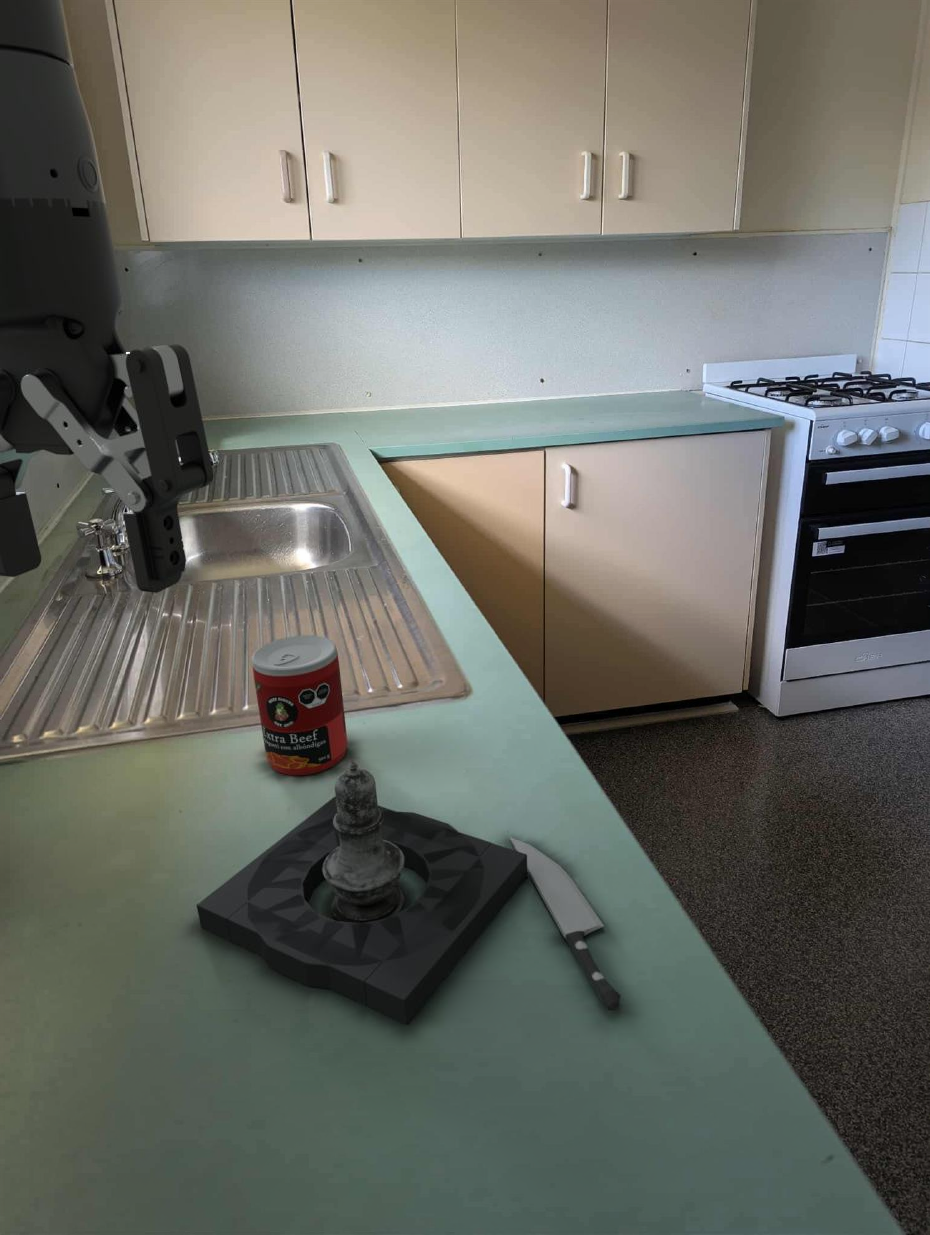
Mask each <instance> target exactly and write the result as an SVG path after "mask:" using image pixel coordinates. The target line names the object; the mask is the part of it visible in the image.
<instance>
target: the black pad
mask: <svg viewBox="0 0 930 1235" xmlns="http://www.w3.org/2000/svg"><path fill="white" fill-rule="evenodd" d="M378 807H379V808H380V809H381V810H382V811H383V813H384V820H383V822H382V824H381V833H382V840H386V841H389V842H391V843H393V844H394V845H396V846H397V847H398V848H399V849H400V850H401V851H402V853H403V855H404V867H405V868H408V869H411V870H413V871H415V872H416V874H417V875H419V876H420V877H421V878H422V879H423V880H424V881H426V886H425V889H424V891H423V893H421V894H420V896H418V898H417V899H416V900H415V901H414V902H413V903H412V904H411V905H410V906H409V907H407V908H404V909H402V910H401V911H400V912H399V913H397V914H395V915H393V916H391V917H389V918H385V919H380V920H375V921H370V922H365V923H353V922H340V921H338V920H336V919H332V918H330V917H328V916H325V915H323V914H322V913H321V914H320V913H319V912H316V910H315V909H314V908H313V907H312V906H311V905H310V903H309V900H310V897H311V896H312V893H313V891H314V889H315V888H316V887H317V886H319V885H320V884H321V883H322V882H323V881H324V880H326V879H325V877H324V874H323V870H322V869H323V863H324V861H325V859H326V857H327V856H328V855H329V854H330V853H331V852H332V851H333V850H334V849H336V848H337V847H339V846H340V838H339V831H338V830H337V829H336V828H335V827H334V824H333V820H334V817H335V815H336V814H337V813H338V812H337V804H336V795H334V796H333V797H332V798H331V799H330V800H328V801H327V802H326V803H324V804H323V805H322V806H321V807H320V808H318V809H317V810H316V811H315V812H313V813H312V814H310V816H308V817H307V818H306V819H304V820H303V821H301V823H299V824H297V825H296V826H295V827H294V828H293V829H291V830H290V831H289V832H287V833H286V834H285V835H284V836H282V837H281V838H280V839H279V840H277V841H276V842H275V843H274V844H273V845H271V846H270V847H268V848H267V849H266V850H264V851H263V852H262V853H261V854H259V855H258V856H257V857H256V858H255V859H253V860H252V861H251V862H249V863H248V864H247V865H245V867H243V868H242V869H240V870H239V871H237V873H235V874H233V876H232V877H229V879H228V880H226V881H225V882H224V883H223V884H221V885H220V886H219V887H218V888H216V889H215V890H213V891H212V892H211V893H210V894H208V895H207V896H206V897H205V898H203V899H202V900H201V901H199V903H197V904H196V910H197V915H198V921H199V925H200V928H201V929H204V930H206V931H208V932H210V933H212V934H214V935H216V936H218V937H220V938H223V939H224V940H227V941H229V942H231V943H233V944H236V945H238V946H240V947H242V948H244V949H246V950H248V951H250V952H252V953H255V954H257V955H259V956H261V957H262V958H263V959H264V961H265V962H266V963H267V965H268V966H269V968H270V969H272V970H274V971H275V972H277V973H279V974H282V975H284V976H285V977H288V978H290V979H292V980H294V981H296V982H298V983H301V984H302V985H305V986H307V987H311V988H316V989H330V990H333V991H335V992H337V993H338V994H341V995H343V996H345V997H347V998H350V999H352V1000H354V1001H356V1002H358V1003H360V1004H362V1005H364V1006H367V1007H369V1008H371V1009H373V1010H375V1011H377V1012H379V1013H382V1014H383V1015H386V1016H387V1017H390V1018H392V1019H394V1020H396V1021H398V1022H401V1023H402V1024H404V1025H408V1024H409V1022H411V1020H412V1019H413V1017H414V1016H415V1015H416V1014H417V1013H418V1012H419V1010H420V1009H421V1007H423V1005H424V1004H425V1003H426V1001H427V1000H429V998H430V996H432V994H433V993H434V991H435V990H436V989H437V988H438V987H439V986H440V984H441V983H442V982H443V980H444V979H445V978H446V977H447V976H448V974H449V973H450V972H451V971H452V970H453V969H454V967H455V966H456V965H457V963H458V962H459V961H460V960H461V958H462V957H463V956H464V955H465V953H467V951H468V950H469V948H470V947H471V946H472V945H473V944H474V942H475V941H476V940H477V939H478V938H479V936H480V935H481V934H482V933H483V931H484V930H485V929H486V928H487V926H488V925H489V924H490V923H491V922H492V920H493V919H494V918H495V917H496V916H497V914H498V913H499V912H500V911H501V909H502V908H503V907H504V905H505V904H506V903H507V902H508V901H509V899H510V898H511V897H512V896H513V894H514V893H516V891H517V890H518V888H519V887H520V886H521V885H522V883H524V881H525V880H526V879H527V877H528V875H529V873H528V872H527V854H524V853H521V852H518V851H516V849H511V848H509V847H505V846H502V845H499V844H496V843H494V842H491V841H487V840H485V839H481V838H478V837H476V836H472V835H470V834H467V833H463V832H460V831H458V830H457V829H456V828H455V827H454V826H452V825H451V824H449V823H447V822H444V821H441V820H438V819H435V818H432V817H429V816H426V815H422V814H419V813H417V812H412V811H397V810H394V809H390V808H387V807H384V806H381V805H378Z"/></svg>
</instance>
